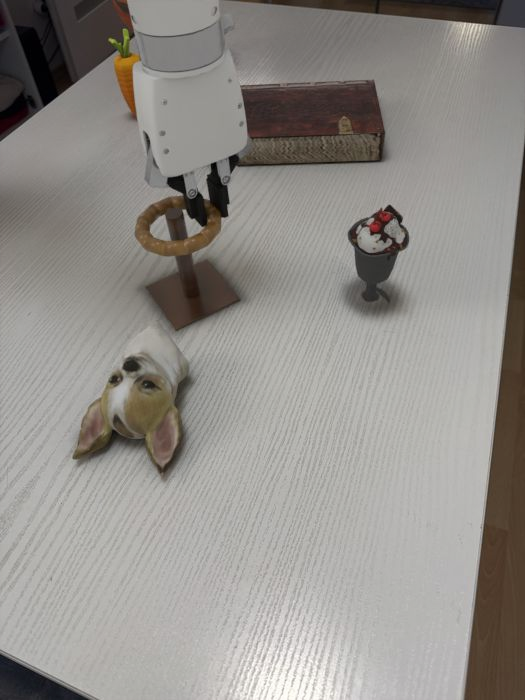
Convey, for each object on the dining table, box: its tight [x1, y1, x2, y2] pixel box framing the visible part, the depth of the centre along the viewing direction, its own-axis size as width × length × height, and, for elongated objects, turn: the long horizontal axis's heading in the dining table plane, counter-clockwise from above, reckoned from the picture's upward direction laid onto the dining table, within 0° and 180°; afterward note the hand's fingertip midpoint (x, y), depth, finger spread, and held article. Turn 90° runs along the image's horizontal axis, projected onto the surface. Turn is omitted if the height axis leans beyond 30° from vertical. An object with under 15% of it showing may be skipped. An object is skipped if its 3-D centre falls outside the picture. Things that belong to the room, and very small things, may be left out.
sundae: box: [347, 204, 410, 304], centre depth 61 cm, size 7×7×15 cm
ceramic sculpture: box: [71, 320, 190, 476], centre depth 55 cm, size 11×9×15 cm
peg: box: [145, 208, 241, 332], centre depth 64 cm, size 9×9×13 cm
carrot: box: [108, 28, 141, 119], centre depth 94 cm, size 5×5×15 cm
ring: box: [133, 195, 222, 258], centre depth 60 cm, size 10×10×2 cm
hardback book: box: [236, 79, 386, 166], centre depth 91 cm, size 29×19×5 cm, turn 88°
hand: (209, 214), depth 62 cm, fingers closed on ring, 2 cm apart
